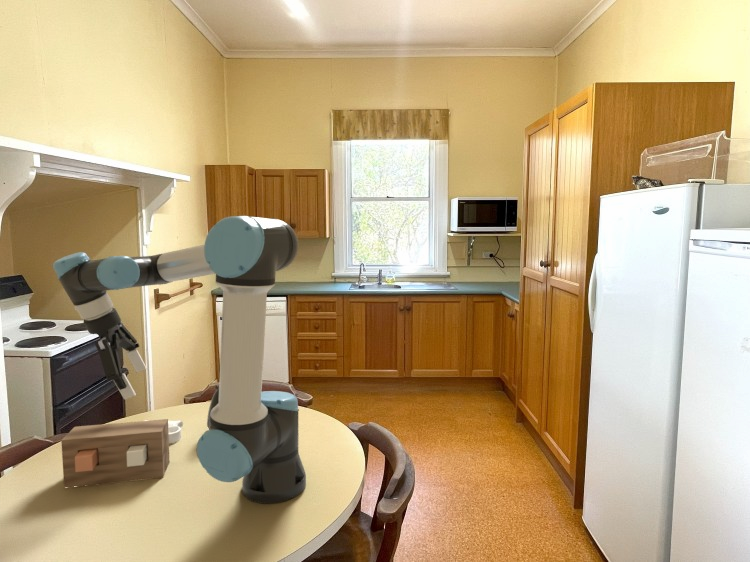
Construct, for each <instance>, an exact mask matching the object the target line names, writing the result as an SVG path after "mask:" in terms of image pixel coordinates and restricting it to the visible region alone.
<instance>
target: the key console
mask: <svg viewBox="0 0 750 562" xmlns="http://www.w3.org/2000/svg"><path fill="white" fill-rule="evenodd" d="M168 421H169V419H168V418H165V419H151V420H148V421H145V420H139V421H130V422H129V421H128V422H127V421H126V422H118V423H117V422H116V423H105V424H102V423H101V424H93V425H92V424H91V425H81V426H80V425H79V426H74V427H72V429H70V431H69V432H68V433H67V434H66V435H65V436H64V437H63V438H62V439H61V457H62V459H61V460H62V473H63V476H62V477H63V488H64V489H66V488H65V487H72V488H75V487H74V486H81V487H86V486H85V485H90V486H97V485H96V484H99V485H106V484H116V483H125V482H126V483H127V482H132V481H133V482H134V481H143V480H151V479H160V478H161V479H162V478H164V477H165V474H166V472H167V469H168V467H169V464H170V461H171V460H170V444H169V433H168ZM138 444H148V457H147V459H146V461H145V463H144V465H139V466H130V467H127V451H128V449H129V448H130V446H131V445H138ZM96 448H98V455H99V462H98V464H97V465H96V466H95V468H94V469H93V470H91V471H82V472H75V457H76V455H77V454H78V453H79V452H80V451H81V450H85V449H96Z"/></svg>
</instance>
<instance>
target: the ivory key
mask: <svg viewBox="0 0 750 562" xmlns="http://www.w3.org/2000/svg"><path fill="white" fill-rule="evenodd" d="M147 457H148V444H138V445H131V446H130V448H129V449H128V451H127V467H130V466H139V465H144V463H145V461H146V459H147Z"/></svg>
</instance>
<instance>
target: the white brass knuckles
mask: <svg viewBox="0 0 750 562" xmlns="http://www.w3.org/2000/svg"><path fill="white" fill-rule="evenodd" d="M144 421H149V420H148V419H145V420H144ZM183 425H184V423H183V421H182V420H168V433H169V445H172V444H175V443H177V441H178V442H179V441H180V440H181V439H182V427H183ZM171 443H172V444H171Z"/></svg>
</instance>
